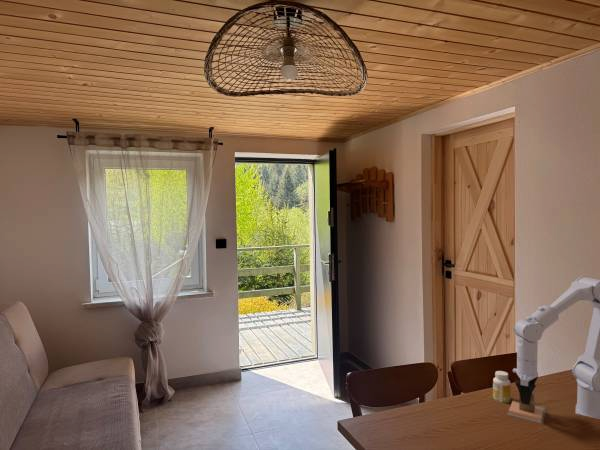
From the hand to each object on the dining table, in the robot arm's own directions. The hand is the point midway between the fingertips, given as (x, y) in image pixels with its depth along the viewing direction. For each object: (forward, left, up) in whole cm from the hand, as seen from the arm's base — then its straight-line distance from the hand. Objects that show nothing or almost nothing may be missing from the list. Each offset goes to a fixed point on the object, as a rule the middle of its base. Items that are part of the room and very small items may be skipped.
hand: (526, 399), depth 131 cm
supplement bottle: (+8, -6, -5) cm, 12 cm away
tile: (0, -4, -4) cm, 5 cm away
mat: (0, -1, -5) cm, 5 cm away
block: (0, 0, -3) cm, 3 cm away
